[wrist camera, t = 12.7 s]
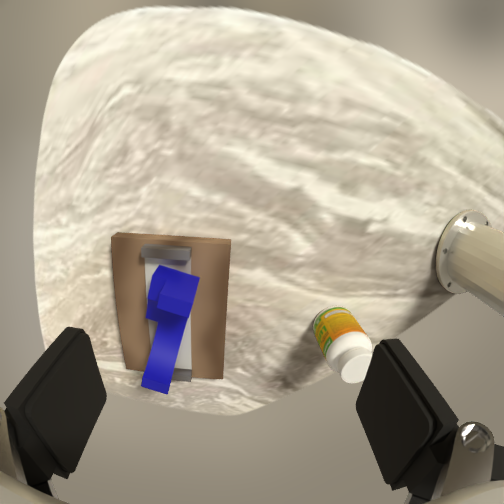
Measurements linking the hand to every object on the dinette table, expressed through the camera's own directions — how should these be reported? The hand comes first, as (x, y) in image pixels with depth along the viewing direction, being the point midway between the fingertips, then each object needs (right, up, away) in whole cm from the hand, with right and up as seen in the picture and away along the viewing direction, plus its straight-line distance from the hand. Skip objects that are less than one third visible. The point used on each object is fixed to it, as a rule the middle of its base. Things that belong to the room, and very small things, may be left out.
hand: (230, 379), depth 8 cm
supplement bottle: (+11, -5, +28) cm, 30 cm away
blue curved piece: (-9, -3, +23) cm, 25 cm away
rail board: (-9, -3, +25) cm, 27 cm away
